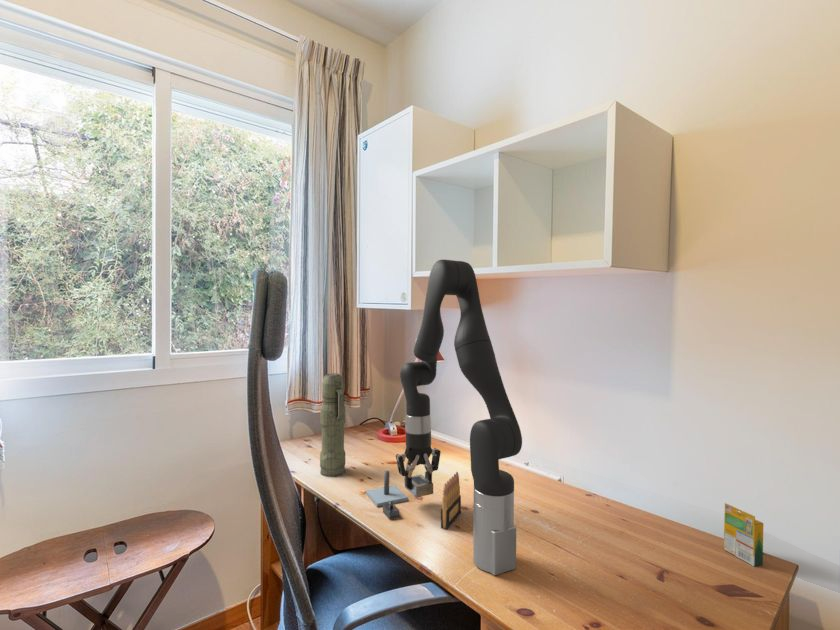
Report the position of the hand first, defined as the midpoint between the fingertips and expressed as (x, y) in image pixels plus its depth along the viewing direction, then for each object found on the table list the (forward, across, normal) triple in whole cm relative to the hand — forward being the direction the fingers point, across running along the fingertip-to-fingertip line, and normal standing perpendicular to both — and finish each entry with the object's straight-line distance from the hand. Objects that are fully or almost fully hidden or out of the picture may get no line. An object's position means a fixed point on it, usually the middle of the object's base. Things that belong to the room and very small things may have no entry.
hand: (418, 486), depth 125 cm
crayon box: (+8, +59, -55) cm, 81 cm away
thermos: (+5, -16, +38) cm, 41 cm away
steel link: (+1, 0, 0) cm, 1 cm away
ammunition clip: (+7, +5, -10) cm, 13 cm away
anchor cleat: (+6, -9, 0) cm, 11 cm away
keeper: (+6, -6, +11) cm, 14 cm away
